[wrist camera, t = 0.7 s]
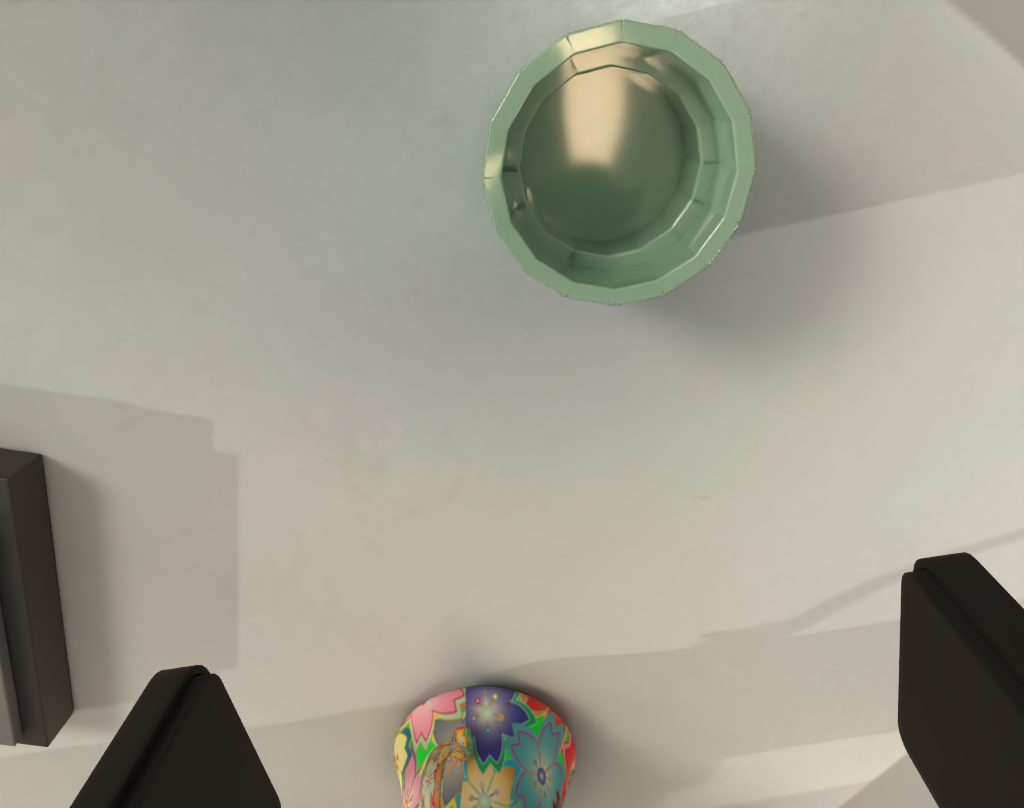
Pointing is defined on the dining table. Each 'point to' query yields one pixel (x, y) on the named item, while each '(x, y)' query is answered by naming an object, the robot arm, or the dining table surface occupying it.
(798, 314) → the dining table surface
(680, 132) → the bowl
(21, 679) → the scale
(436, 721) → the mug
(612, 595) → the dining table surface
